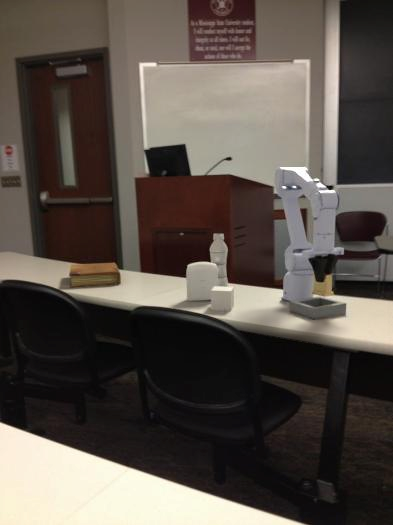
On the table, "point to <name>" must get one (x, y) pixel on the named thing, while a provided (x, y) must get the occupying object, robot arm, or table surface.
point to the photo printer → (201, 280)
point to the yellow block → (323, 286)
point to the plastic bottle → (219, 258)
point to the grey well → (317, 307)
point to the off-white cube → (222, 298)
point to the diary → (94, 275)
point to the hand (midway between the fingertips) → (322, 281)
